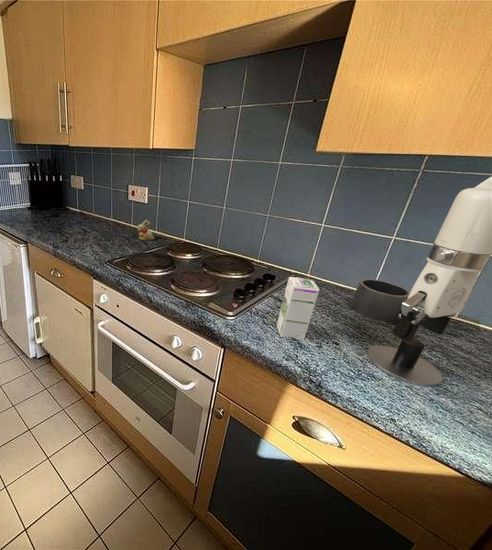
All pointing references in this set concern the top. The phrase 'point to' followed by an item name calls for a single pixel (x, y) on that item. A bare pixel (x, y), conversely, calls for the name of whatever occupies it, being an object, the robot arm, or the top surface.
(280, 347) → the top surface
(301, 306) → the syrup box
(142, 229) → the chocolate bunny
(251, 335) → the top surface
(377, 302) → the canister
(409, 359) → the canister lid
